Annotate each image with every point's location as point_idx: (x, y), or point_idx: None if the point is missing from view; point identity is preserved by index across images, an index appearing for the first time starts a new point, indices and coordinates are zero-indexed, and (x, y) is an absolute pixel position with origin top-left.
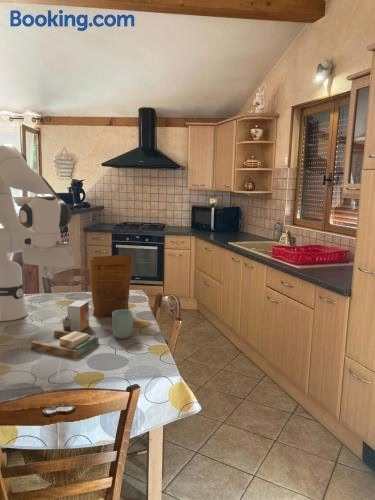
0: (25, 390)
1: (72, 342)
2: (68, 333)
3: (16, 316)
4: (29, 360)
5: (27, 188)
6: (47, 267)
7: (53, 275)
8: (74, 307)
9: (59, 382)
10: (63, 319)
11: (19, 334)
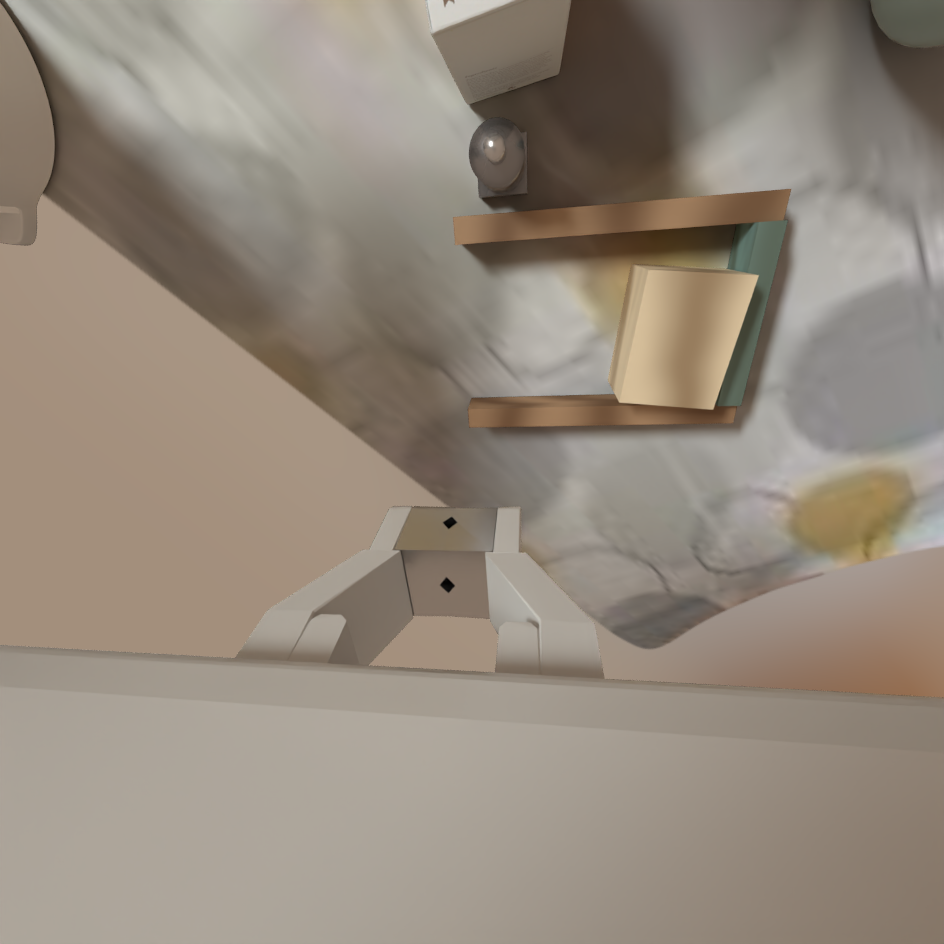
0: (668, 620)
1: (710, 407)
2: (563, 236)
3: (30, 121)
4: (546, 491)
5: None
6: (345, 630)
7: (520, 528)
8: (509, 10)
9: (748, 565)
10: (472, 165)
11: (289, 310)
